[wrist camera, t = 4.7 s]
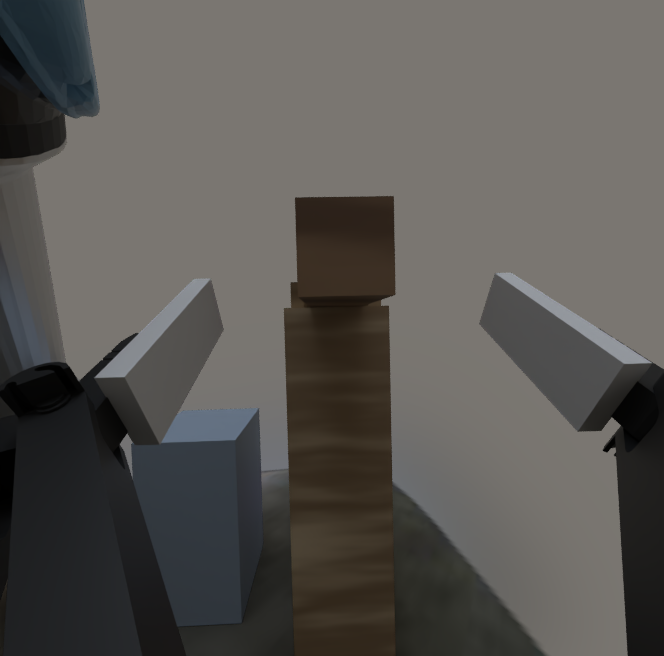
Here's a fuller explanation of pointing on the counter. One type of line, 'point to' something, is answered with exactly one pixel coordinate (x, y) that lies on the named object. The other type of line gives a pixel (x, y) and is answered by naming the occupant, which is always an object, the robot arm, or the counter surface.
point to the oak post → (340, 478)
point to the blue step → (204, 511)
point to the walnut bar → (345, 250)
